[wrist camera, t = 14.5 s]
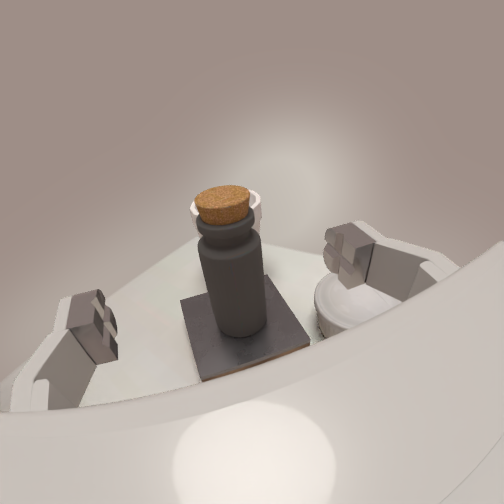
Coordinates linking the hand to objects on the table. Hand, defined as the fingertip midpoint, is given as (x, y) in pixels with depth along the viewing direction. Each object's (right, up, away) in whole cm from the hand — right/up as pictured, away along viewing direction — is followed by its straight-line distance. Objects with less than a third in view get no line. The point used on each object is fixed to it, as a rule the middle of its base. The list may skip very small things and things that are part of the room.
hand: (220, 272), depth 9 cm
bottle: (0, -7, +22) cm, 23 cm away
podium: (0, -10, +24) cm, 26 cm away
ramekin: (+14, -9, +25) cm, 30 cm away
